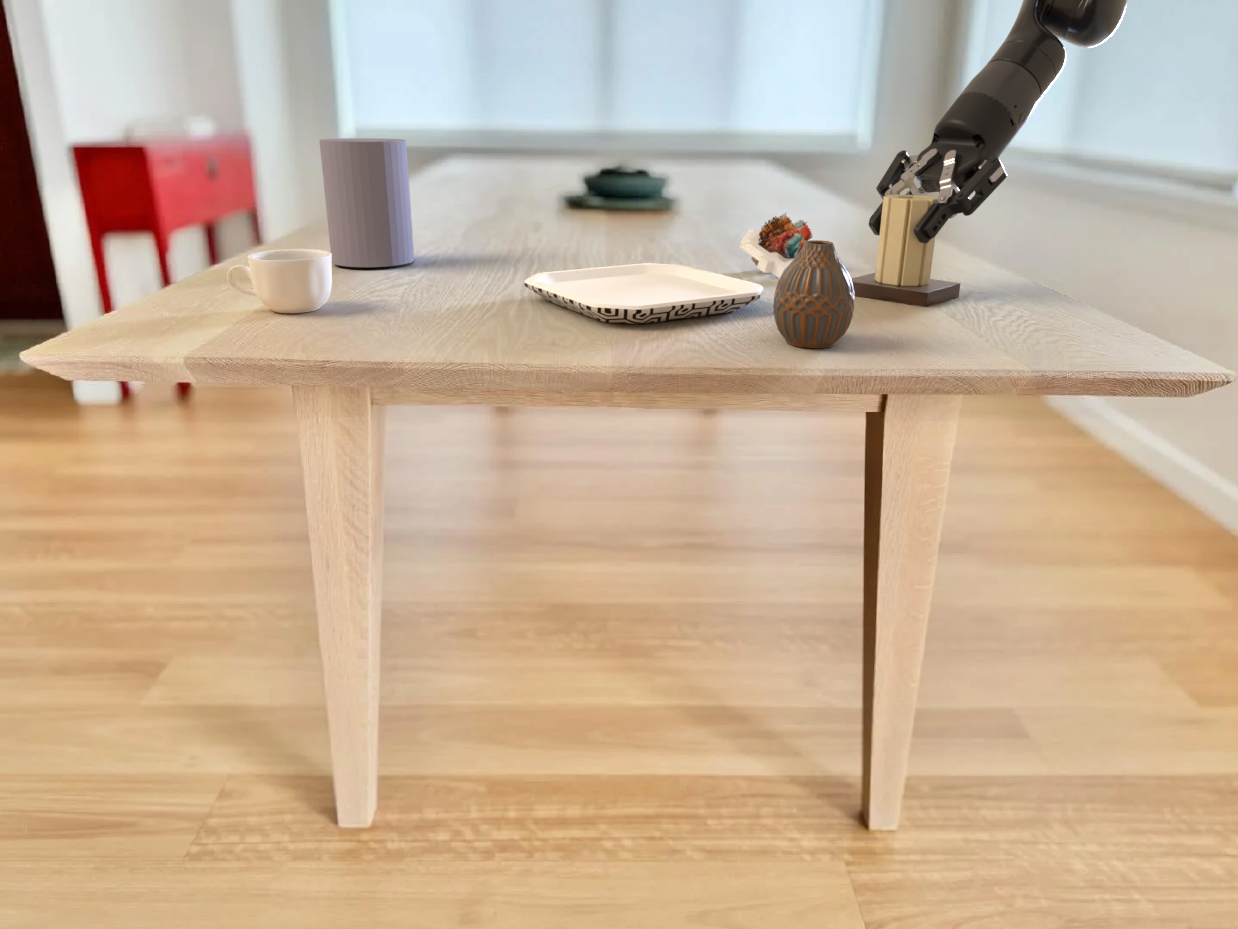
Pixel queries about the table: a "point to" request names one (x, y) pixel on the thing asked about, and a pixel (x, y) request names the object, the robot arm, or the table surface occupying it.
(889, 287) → the peg stand
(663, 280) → the plate
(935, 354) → the table surface
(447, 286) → the table surface
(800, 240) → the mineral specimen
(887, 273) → the fluted hollow cylinder
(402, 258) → the container
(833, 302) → the vase
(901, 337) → the table surface
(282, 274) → the teacup
